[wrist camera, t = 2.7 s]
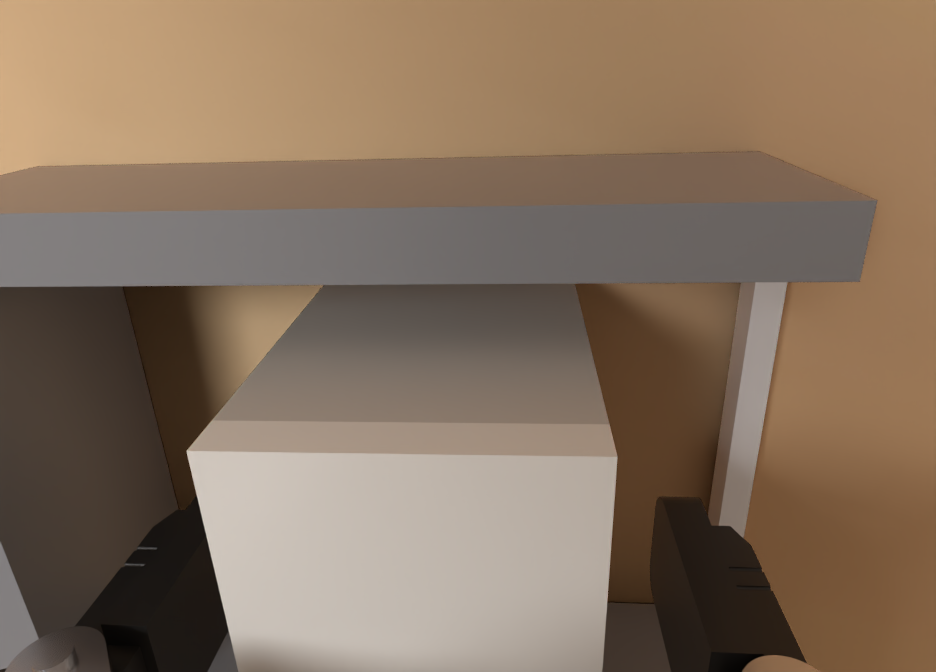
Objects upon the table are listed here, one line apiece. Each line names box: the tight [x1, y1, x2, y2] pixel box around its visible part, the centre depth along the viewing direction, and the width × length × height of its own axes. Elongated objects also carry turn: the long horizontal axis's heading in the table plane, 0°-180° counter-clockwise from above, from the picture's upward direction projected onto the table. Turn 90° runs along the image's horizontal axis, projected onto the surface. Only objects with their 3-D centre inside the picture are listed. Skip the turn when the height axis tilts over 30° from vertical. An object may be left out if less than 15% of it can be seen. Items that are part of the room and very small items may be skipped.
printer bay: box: [0, 151, 877, 672], centre depth 13 cm, size 13×15×5 cm
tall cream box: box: [186, 284, 618, 672], centre depth 12 cm, size 8×5×7 cm, turn 2°
